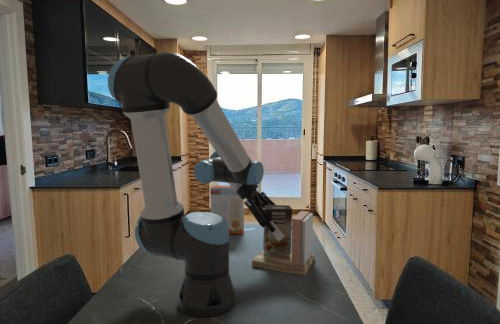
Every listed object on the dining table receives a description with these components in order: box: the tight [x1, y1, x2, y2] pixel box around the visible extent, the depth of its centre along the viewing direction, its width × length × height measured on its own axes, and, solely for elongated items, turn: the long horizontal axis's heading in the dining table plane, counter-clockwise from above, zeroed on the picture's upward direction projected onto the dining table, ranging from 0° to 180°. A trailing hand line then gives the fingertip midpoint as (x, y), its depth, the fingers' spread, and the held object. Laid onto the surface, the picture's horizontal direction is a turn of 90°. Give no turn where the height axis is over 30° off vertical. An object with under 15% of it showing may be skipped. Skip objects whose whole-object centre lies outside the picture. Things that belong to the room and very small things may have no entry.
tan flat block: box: [291, 210, 310, 265], centre depth 113 cm, size 11×3×15 cm, turn 157°
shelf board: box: [251, 249, 315, 276], centre depth 116 cm, size 14×18×2 cm
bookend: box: [292, 212, 314, 267], centre depth 112 cm, size 11×4×15 cm, turn 157°
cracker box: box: [209, 184, 245, 235], centre depth 148 cm, size 14×6×21 cm, turn 84°
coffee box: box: [262, 204, 293, 255], centre depth 116 cm, size 9×6×16 cm
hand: (286, 234), depth 115 cm, fingers closed on coffee box, 9 cm apart
